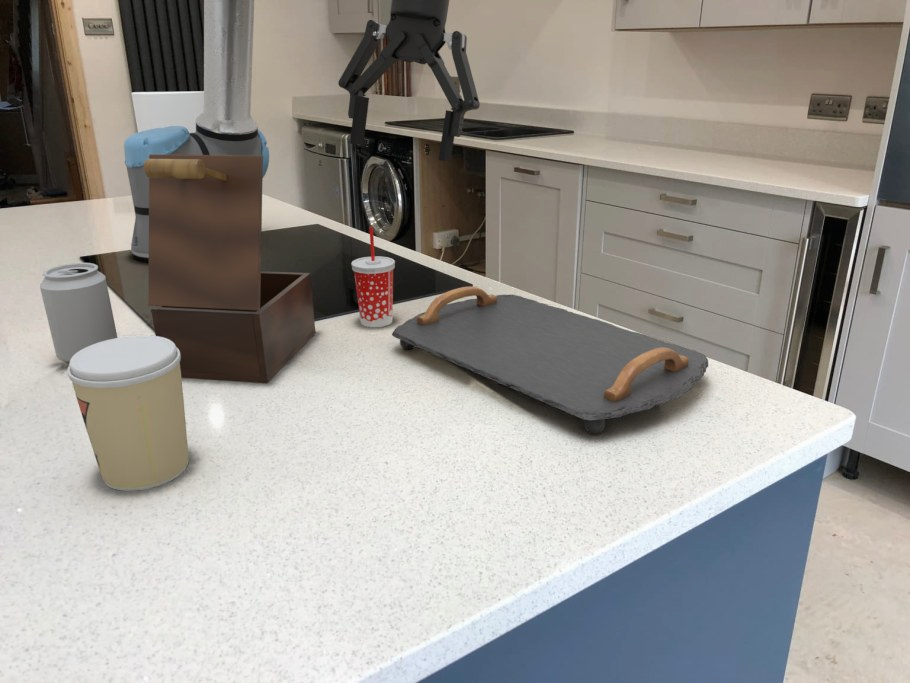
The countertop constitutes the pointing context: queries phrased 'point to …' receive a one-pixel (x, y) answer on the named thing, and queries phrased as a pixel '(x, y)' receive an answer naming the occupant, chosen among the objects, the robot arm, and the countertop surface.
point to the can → (77, 308)
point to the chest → (242, 332)
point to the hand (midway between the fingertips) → (399, 152)
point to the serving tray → (554, 354)
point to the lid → (205, 231)
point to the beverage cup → (374, 288)
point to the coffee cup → (133, 409)
